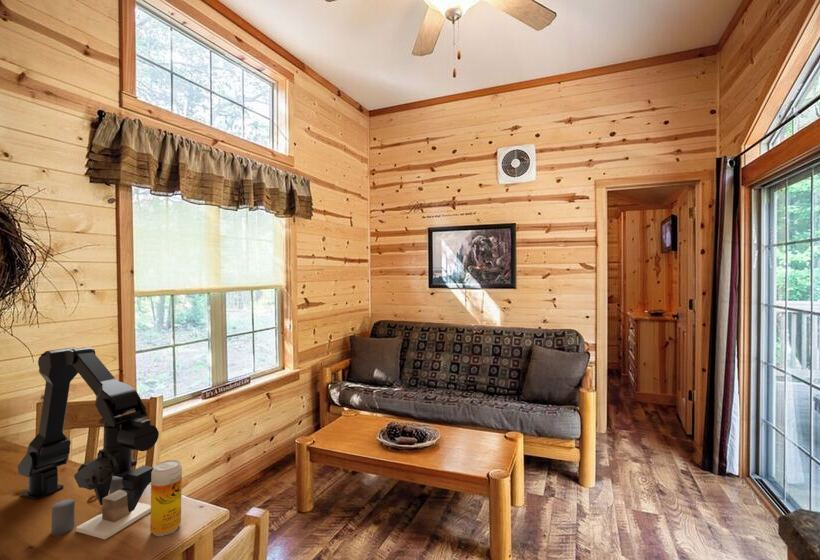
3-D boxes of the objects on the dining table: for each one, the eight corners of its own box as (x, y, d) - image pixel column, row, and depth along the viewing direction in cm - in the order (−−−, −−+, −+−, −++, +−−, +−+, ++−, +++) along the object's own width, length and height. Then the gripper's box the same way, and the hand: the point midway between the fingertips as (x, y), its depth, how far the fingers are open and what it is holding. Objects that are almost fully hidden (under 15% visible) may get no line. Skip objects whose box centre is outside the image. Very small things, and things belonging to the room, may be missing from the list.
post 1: (46, 533, 90) (47, 507, 90) (66, 523, 94) (67, 497, 94) (59, 536, 89) (59, 510, 89) (78, 526, 93) (79, 500, 93)
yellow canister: (166, 539, 89) (167, 472, 89) (143, 535, 90) (144, 469, 90) (186, 523, 95) (188, 460, 95) (165, 519, 96) (166, 457, 96)
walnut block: (102, 519, 94) (102, 498, 94) (118, 509, 98) (119, 489, 98) (114, 522, 93) (114, 501, 93) (130, 513, 97) (131, 492, 97)
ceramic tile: (76, 531, 91) (76, 527, 91) (127, 503, 102) (127, 499, 102) (105, 539, 88) (105, 535, 88) (153, 509, 100) (153, 505, 100)
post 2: (105, 502, 102) (105, 479, 102) (120, 495, 106) (121, 472, 106) (116, 505, 101) (117, 482, 101) (131, 497, 105) (132, 475, 105)
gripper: (52, 451, 90) (51, 519, 90) (113, 463, 85) (111, 536, 85) (103, 433, 101) (101, 494, 101) (159, 443, 96) (158, 507, 96)
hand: (116, 507), depth 95 cm, fingers open, 9 cm apart
